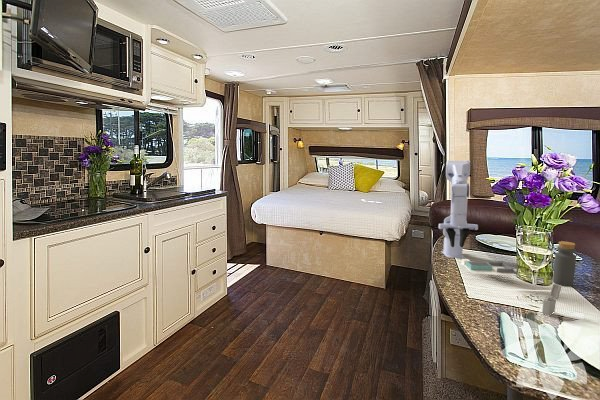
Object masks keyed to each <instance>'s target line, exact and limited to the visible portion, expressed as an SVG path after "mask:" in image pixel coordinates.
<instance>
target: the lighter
mask: <svg viewBox="0 0 600 400" xmlns="http://www.w3.org/2000/svg"><path fill="white" fill-rule="evenodd" d="M561 289H562V285H558V284H556V283H552V286H551V290H550V294H549V295H547V296H546V298H545V299H543V300H542V310H541V314H542V313H543V314H546V315H550V314H552V313H553V312H555V311H556V302H557V300H558V299H559V296H560V292H561ZM555 313H556V312H555ZM543 314H542V315H543ZM553 314H554V313H553ZM553 314H552V315H553ZM546 315H545V316H546ZM550 316H551V315H550Z"/></svg>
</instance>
